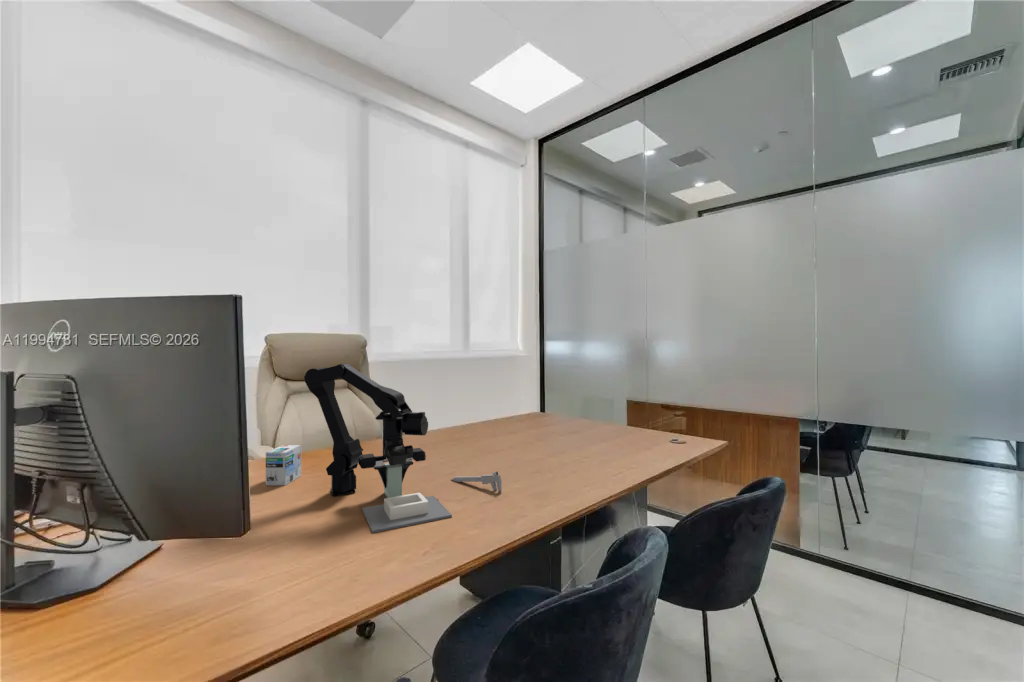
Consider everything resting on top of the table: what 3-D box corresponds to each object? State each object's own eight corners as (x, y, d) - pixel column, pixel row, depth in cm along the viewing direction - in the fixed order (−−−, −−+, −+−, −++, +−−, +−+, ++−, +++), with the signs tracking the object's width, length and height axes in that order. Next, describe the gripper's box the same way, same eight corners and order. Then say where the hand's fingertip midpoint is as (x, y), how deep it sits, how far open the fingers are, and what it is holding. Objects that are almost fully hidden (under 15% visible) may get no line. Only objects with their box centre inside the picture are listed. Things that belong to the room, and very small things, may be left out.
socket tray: (372, 533, 104) (372, 518, 104) (362, 510, 118) (362, 497, 118) (451, 516, 114) (451, 503, 114) (433, 497, 128) (433, 485, 128)
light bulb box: (285, 486, 139) (285, 452, 139) (264, 486, 139) (264, 452, 139) (302, 475, 150) (302, 444, 150) (282, 475, 150) (282, 444, 150)
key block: (388, 499, 127) (388, 468, 127) (384, 493, 132) (383, 463, 132) (402, 497, 128) (401, 466, 128) (397, 490, 134) (397, 461, 134)
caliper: (501, 492, 133) (501, 471, 133) (499, 493, 132) (499, 472, 132) (452, 480, 145) (452, 461, 145) (450, 481, 144) (450, 462, 144)
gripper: (364, 443, 119) (364, 500, 119) (430, 436, 127) (431, 489, 127) (358, 435, 129) (358, 488, 129) (420, 429, 137) (420, 478, 137)
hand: (392, 486), depth 130 cm, fingers open, 4 cm apart
